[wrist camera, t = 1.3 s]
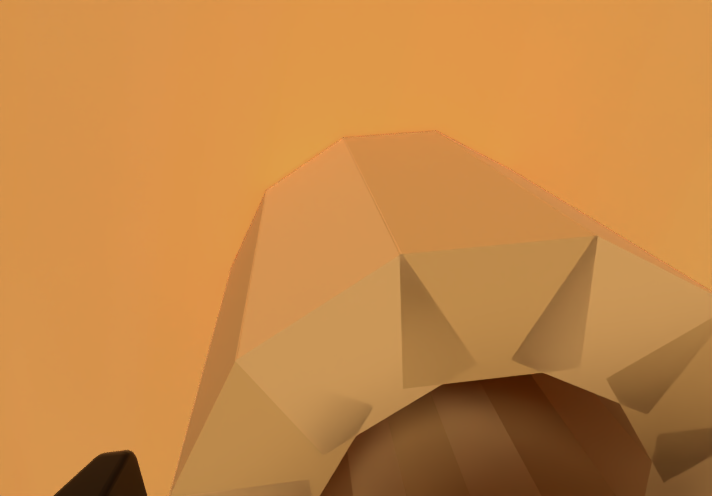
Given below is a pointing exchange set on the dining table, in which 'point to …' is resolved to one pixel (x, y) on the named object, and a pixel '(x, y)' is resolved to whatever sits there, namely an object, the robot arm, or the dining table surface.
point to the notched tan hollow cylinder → (446, 342)
